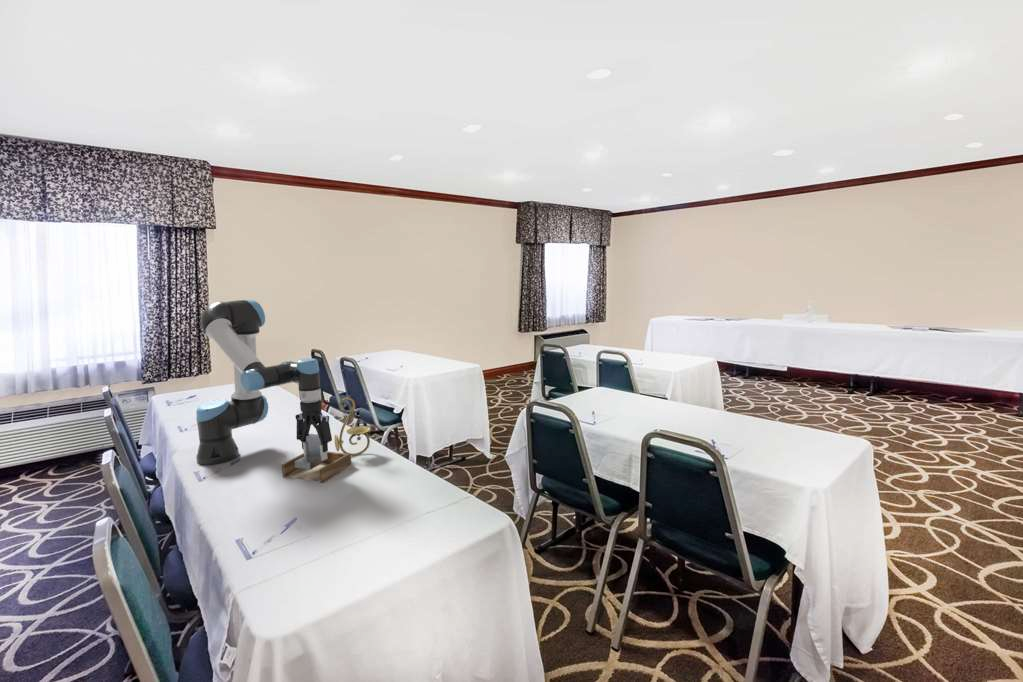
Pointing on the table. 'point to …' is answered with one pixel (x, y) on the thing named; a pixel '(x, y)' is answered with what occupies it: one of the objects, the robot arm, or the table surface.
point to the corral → (318, 467)
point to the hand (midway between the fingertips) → (315, 458)
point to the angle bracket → (311, 453)
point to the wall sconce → (351, 432)
